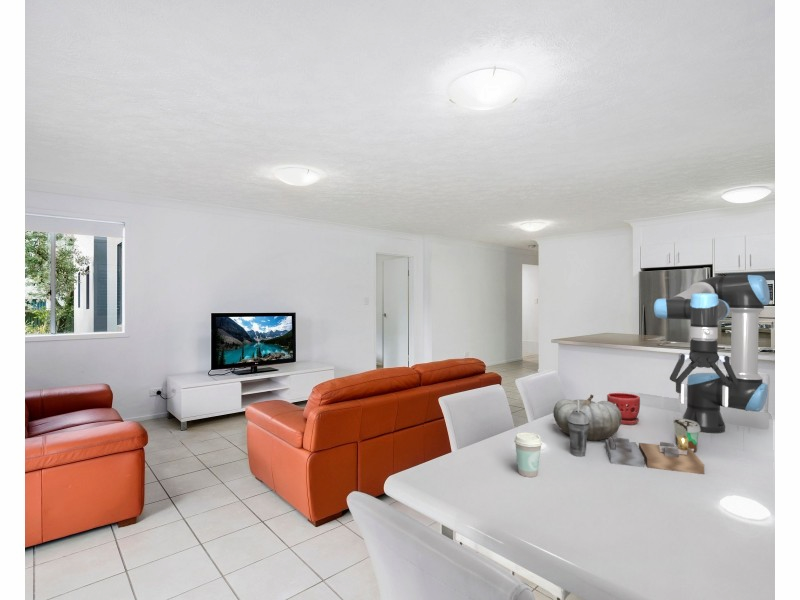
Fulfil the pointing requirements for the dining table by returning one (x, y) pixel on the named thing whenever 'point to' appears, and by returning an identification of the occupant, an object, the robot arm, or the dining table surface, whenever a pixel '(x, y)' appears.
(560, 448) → the dining table surface
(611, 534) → the dining table surface
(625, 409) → the plant pot
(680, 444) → the bolt
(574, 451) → the beverage cup
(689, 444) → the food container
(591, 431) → the gourd
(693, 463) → the door board
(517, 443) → the coffee cup
